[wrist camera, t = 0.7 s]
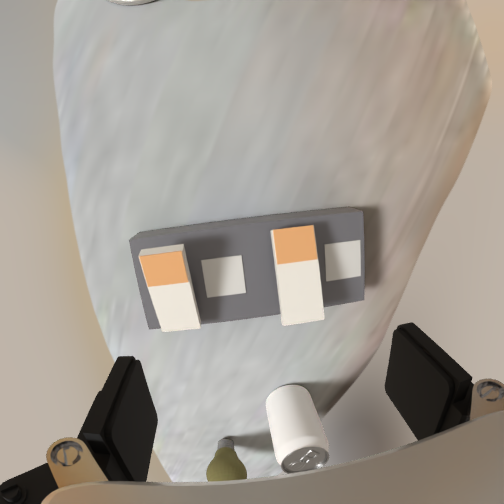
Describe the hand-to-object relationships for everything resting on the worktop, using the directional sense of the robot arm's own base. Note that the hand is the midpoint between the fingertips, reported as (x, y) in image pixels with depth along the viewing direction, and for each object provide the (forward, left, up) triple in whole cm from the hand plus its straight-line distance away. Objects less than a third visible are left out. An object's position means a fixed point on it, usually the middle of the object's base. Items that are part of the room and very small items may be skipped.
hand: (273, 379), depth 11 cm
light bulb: (+31, -6, -26) cm, 41 cm away
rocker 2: (+3, +5, -19) cm, 20 cm away
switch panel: (+3, +1, -26) cm, 26 cm away
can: (+24, +4, -26) cm, 36 cm away
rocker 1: (+3, -7, -19) cm, 21 cm away
